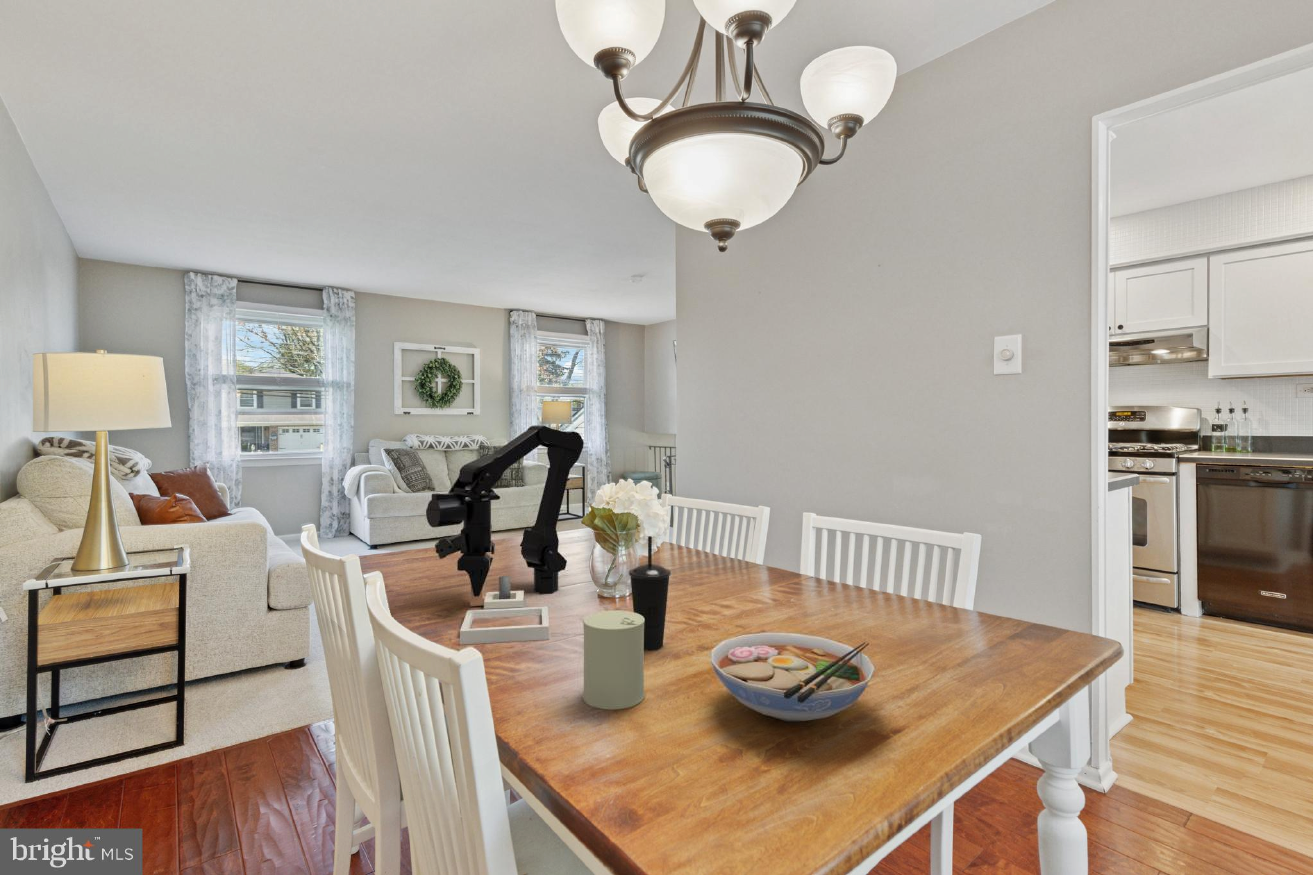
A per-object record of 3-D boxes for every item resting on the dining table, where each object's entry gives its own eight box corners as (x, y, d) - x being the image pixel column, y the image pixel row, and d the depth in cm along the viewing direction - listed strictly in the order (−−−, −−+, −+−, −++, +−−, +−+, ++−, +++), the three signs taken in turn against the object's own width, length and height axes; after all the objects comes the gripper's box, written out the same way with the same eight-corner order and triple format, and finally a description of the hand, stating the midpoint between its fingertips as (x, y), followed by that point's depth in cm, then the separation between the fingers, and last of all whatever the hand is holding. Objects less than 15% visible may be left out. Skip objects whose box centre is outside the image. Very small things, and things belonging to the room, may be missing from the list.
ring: (472, 599, 139) (472, 574, 139) (523, 596, 141) (523, 572, 141) (469, 609, 131) (469, 583, 131) (523, 606, 133) (523, 581, 133)
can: (623, 715, 88) (623, 629, 87) (569, 701, 92) (570, 619, 92) (655, 691, 96) (656, 612, 95) (605, 679, 100) (605, 603, 100)
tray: (467, 622, 128) (467, 610, 128) (547, 618, 131) (547, 606, 131) (459, 644, 115) (459, 631, 115) (548, 639, 118) (548, 626, 118)
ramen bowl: (763, 664, 106) (763, 616, 106) (901, 703, 92) (902, 647, 92) (671, 717, 87) (672, 658, 87) (828, 776, 73) (829, 706, 72)
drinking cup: (622, 642, 117) (622, 534, 117) (659, 636, 120) (660, 531, 120) (638, 655, 110) (639, 541, 110) (677, 649, 113) (678, 538, 113)
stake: (484, 605, 140) (484, 573, 140) (526, 603, 142) (526, 571, 142) (481, 617, 131) (481, 583, 131) (525, 615, 133) (525, 581, 133)
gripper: (444, 516, 143) (444, 585, 143) (430, 530, 124) (430, 608, 125) (494, 515, 145) (494, 583, 145) (488, 528, 126) (488, 606, 127)
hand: (477, 594), depth 135 cm, fingers closed on ring, 2 cm apart
